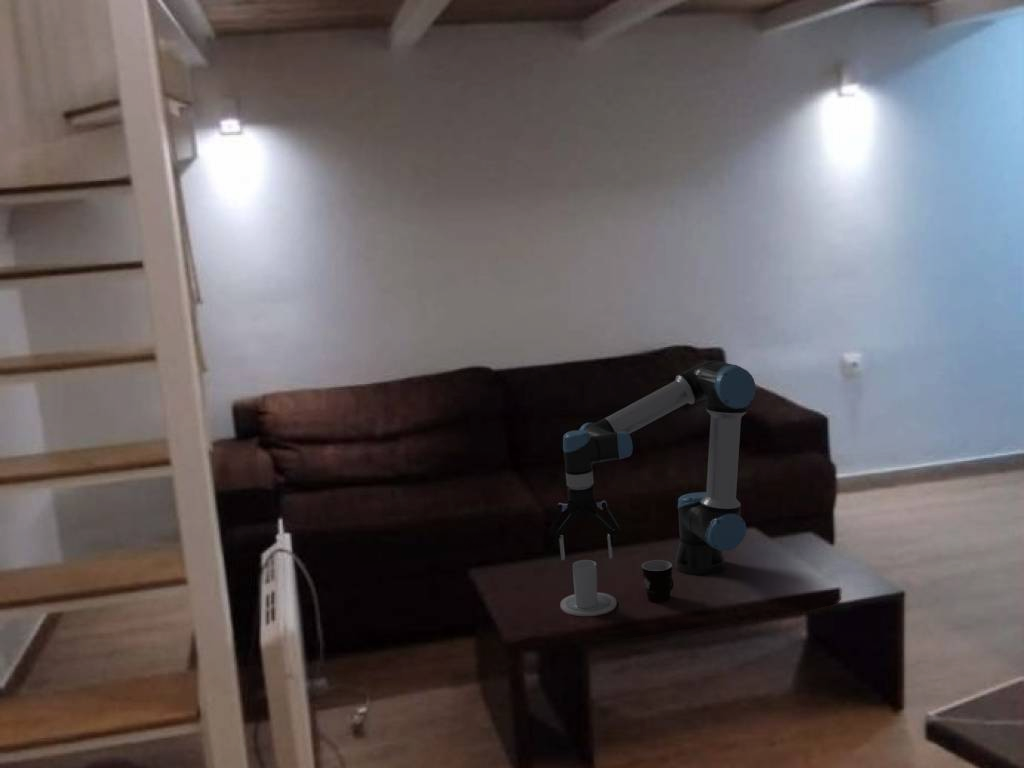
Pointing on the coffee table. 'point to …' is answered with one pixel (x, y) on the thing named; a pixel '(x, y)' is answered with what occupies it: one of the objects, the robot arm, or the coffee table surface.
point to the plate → (602, 607)
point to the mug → (585, 583)
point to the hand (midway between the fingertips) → (586, 558)
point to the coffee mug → (658, 580)
